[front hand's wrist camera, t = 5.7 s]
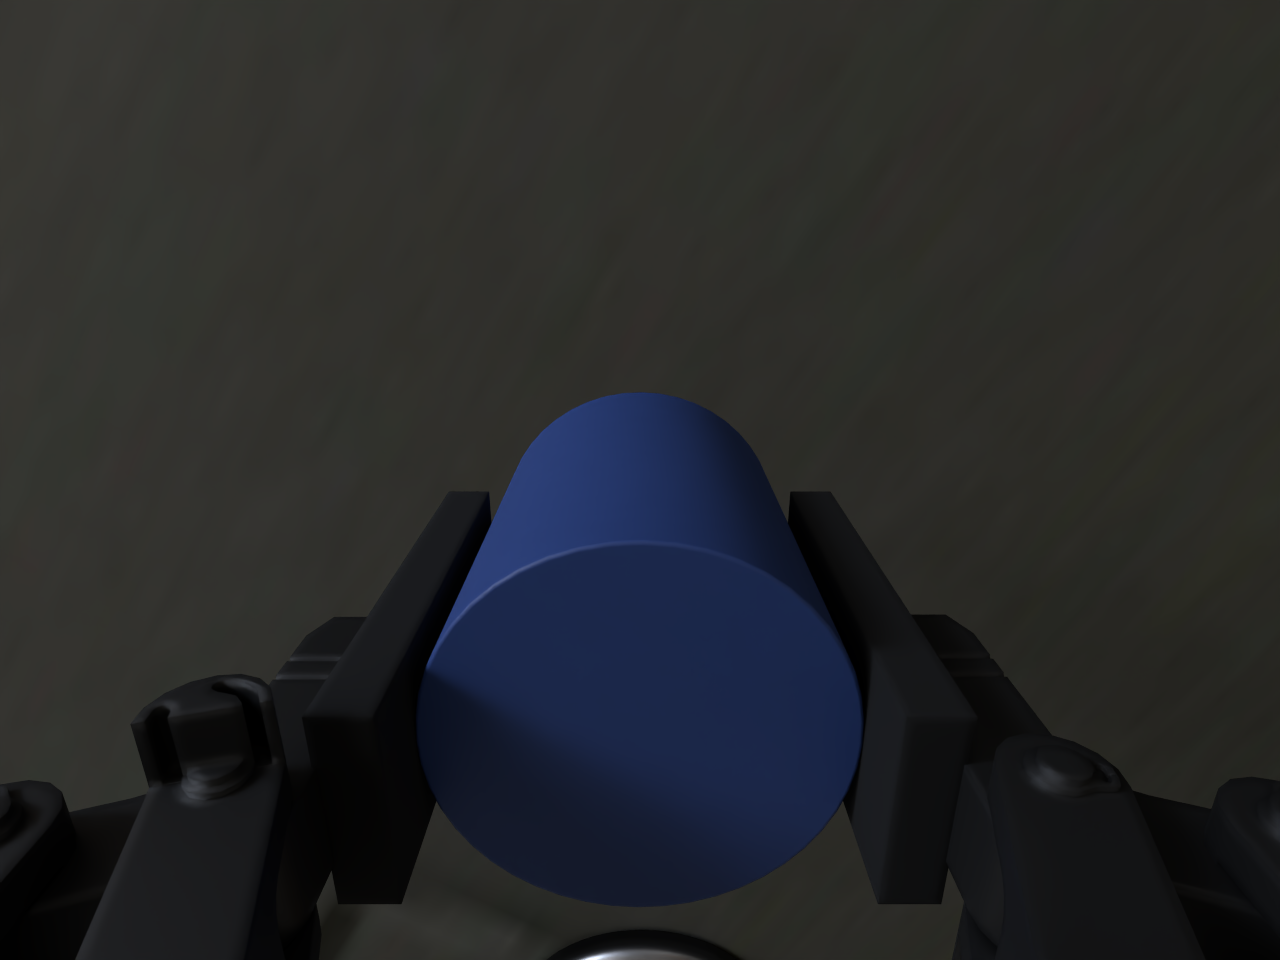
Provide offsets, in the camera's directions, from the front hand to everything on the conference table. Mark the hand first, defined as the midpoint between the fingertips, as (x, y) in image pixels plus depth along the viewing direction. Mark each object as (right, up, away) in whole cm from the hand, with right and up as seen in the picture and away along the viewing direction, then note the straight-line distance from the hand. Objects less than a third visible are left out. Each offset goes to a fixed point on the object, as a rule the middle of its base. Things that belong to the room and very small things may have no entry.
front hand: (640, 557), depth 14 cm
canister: (0, +1, +2) cm, 2 cm away
